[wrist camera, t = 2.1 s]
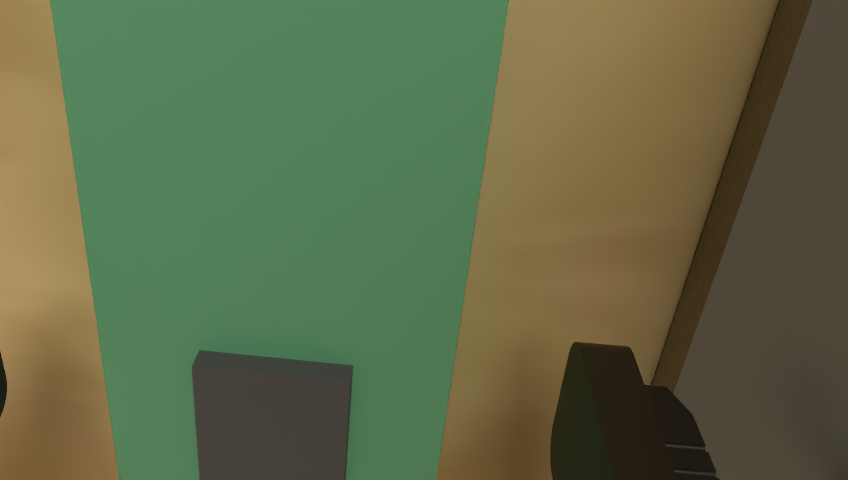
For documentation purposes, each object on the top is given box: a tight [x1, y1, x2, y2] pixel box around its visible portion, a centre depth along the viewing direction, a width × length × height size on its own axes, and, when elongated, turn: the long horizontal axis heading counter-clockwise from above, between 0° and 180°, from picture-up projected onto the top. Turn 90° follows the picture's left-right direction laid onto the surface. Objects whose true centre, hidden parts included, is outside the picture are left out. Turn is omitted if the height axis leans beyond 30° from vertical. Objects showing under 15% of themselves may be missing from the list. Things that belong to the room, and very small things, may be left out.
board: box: [50, 0, 509, 480], centre depth 12 cm, size 12×6×3 cm, turn 174°
